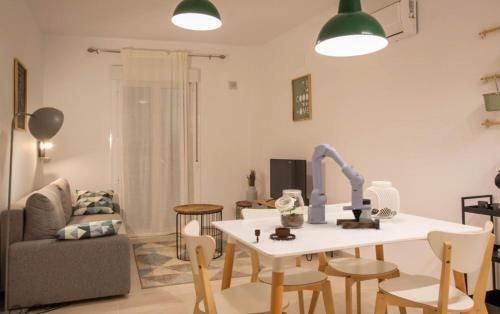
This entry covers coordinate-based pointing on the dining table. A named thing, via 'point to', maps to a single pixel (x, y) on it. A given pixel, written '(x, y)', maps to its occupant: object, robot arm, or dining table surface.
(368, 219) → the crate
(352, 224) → the wooden tray
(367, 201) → the jar
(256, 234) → the place setting
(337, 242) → the dining table surface
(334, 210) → the dining table surface
